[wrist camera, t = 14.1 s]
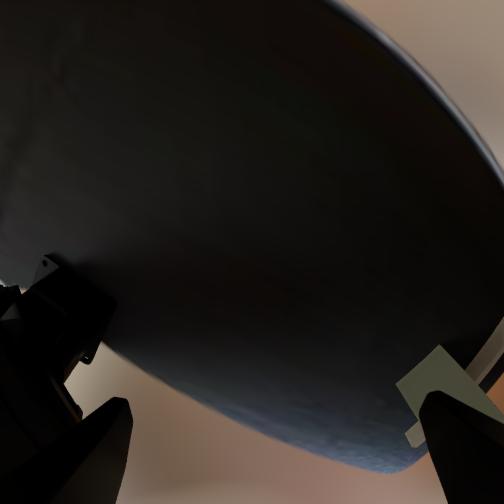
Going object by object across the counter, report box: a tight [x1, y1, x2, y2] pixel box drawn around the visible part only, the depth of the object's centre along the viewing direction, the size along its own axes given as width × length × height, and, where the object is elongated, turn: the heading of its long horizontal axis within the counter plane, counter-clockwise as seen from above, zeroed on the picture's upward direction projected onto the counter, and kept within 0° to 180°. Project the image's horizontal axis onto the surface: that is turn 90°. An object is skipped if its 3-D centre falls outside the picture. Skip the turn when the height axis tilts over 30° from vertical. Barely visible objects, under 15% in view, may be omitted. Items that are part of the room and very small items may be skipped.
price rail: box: [405, 317, 504, 448], centre depth 22 cm, size 17×2×2 cm, turn 147°
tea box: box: [396, 344, 504, 426], centre depth 17 cm, size 5×5×12 cm
